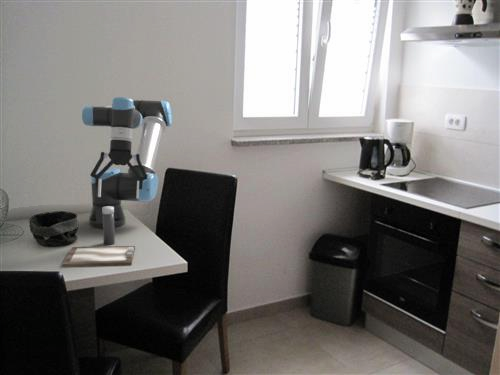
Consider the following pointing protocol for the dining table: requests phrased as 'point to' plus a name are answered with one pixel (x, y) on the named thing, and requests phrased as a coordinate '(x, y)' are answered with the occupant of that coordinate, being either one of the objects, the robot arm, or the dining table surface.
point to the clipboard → (100, 256)
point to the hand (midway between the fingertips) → (118, 197)
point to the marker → (108, 225)
